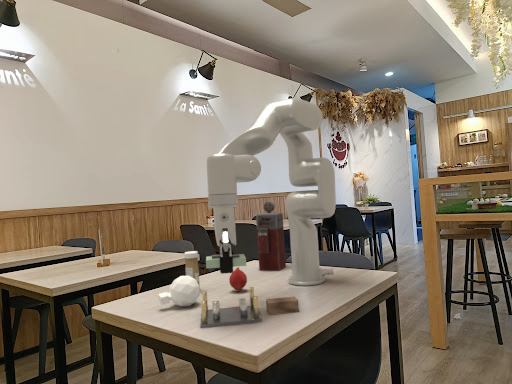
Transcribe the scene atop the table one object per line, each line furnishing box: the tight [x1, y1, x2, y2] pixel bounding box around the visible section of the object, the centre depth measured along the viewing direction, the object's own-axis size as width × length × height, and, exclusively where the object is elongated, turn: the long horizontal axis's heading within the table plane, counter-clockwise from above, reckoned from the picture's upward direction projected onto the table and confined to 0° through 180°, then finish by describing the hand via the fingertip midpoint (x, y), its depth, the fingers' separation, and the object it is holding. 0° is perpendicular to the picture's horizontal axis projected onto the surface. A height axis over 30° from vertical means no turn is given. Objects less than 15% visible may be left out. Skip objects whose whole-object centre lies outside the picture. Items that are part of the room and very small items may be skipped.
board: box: [205, 253, 247, 270], centre depth 99 cm, size 10×7×3 cm
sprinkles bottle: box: [183, 250, 201, 291], centre depth 129 cm, size 5×5×14 cm
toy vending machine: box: [255, 201, 287, 272], centre depth 160 cm, size 9×11×28 cm
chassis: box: [199, 286, 263, 329], centre depth 100 cm, size 15×12×6 cm
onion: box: [229, 266, 248, 292], centre depth 126 cm, size 6×6×8 cm
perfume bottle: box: [158, 275, 201, 308], centre depth 113 cm, size 9×9×12 cm
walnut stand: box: [265, 296, 300, 315], centre depth 102 cm, size 8×4×3 cm, turn 97°
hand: (226, 269), depth 99 cm, fingers closed on board, 7 cm apart
